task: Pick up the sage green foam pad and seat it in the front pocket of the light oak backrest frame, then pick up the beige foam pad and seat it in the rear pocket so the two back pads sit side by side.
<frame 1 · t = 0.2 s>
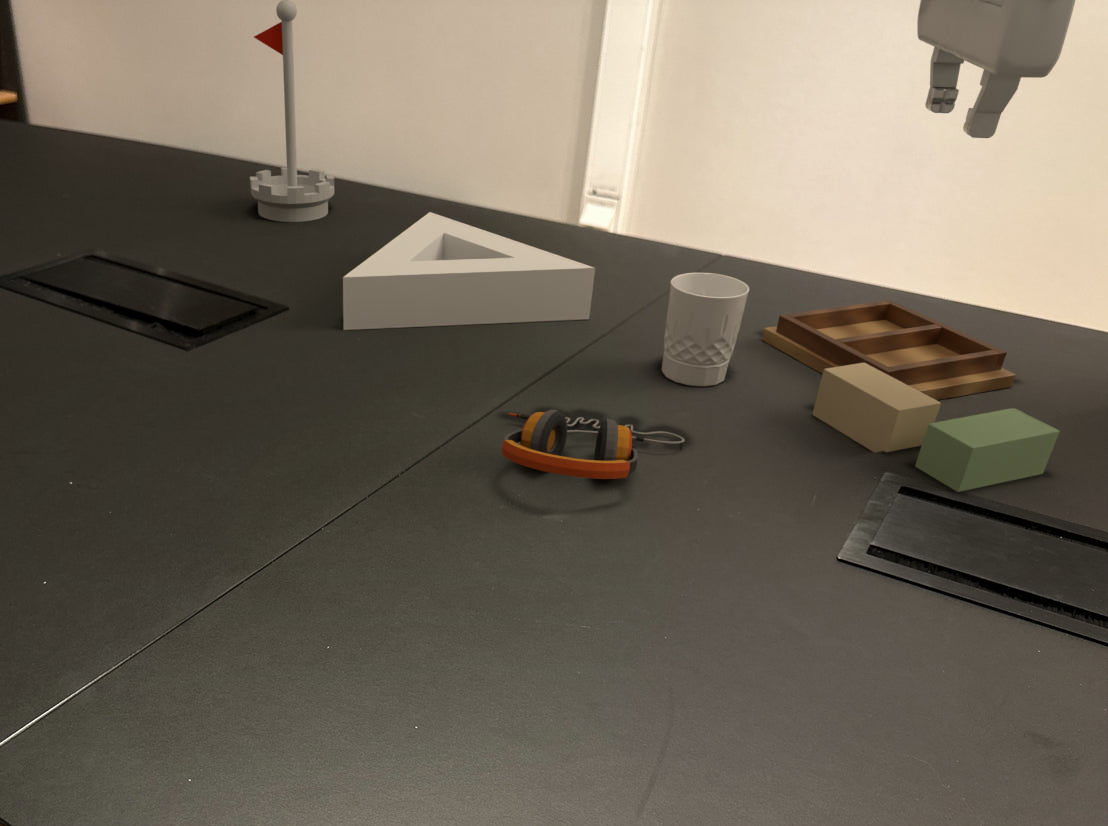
hand: (956, 123, 80), 30 cm above the table, tool pointing down, fingers open, 8 cm apart
back frame: (880, 362, 117), on the table
sage pad: (976, 476, 95), on the table
headphones: (578, 466, 96), on the table
beige pad: (867, 432, 102), on the table
triangle block: (486, 306, 131), on the table
flag stand: (293, 213, 166), on the table
white cup: (692, 376, 114), on the table
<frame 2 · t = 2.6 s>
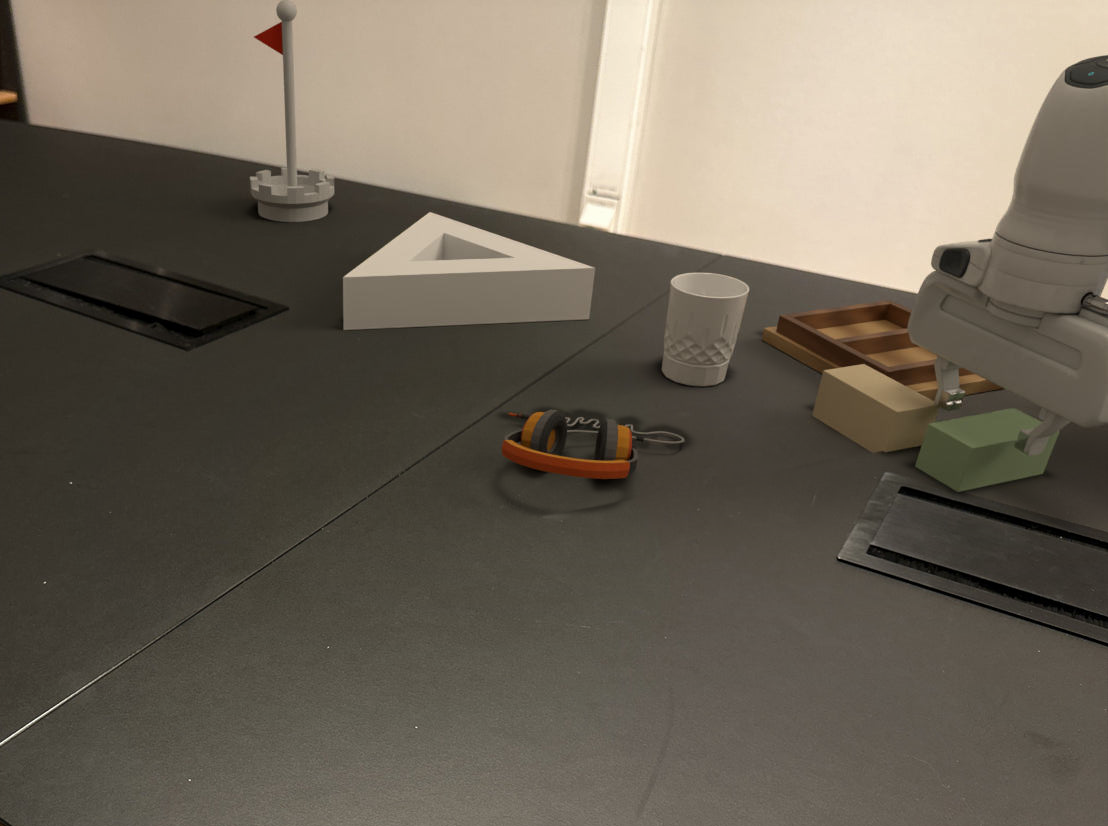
hand: (985, 428, 93), 5 cm above the table, tool pointing down, fingers open, 8 cm apart
beige pad: (866, 433, 102), on the table, touching gripper
everything else where it was.
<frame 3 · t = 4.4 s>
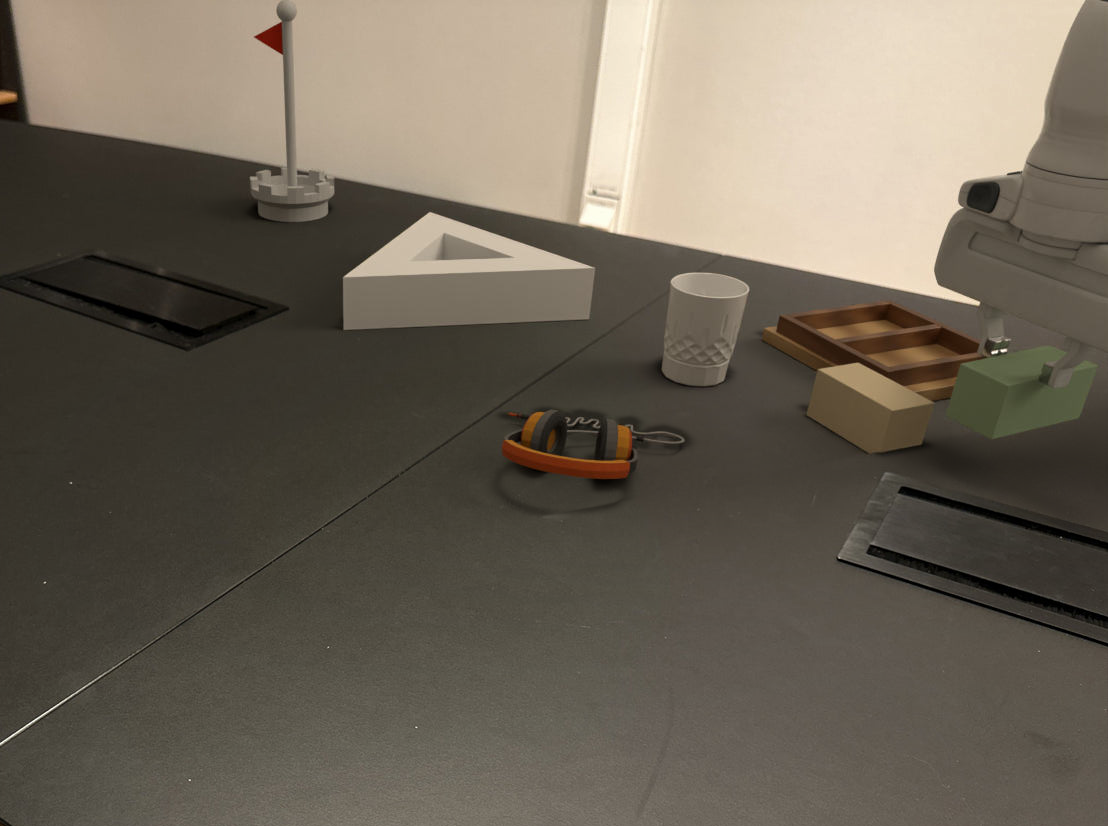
hand: (1019, 370, 89), 10 cm above the table, tool pointing down, fingers closed on sage pad, 5 cm apart
sage pad: (1011, 417, 92), point 6 cm above the table, touching gripper
beige pad: (861, 432, 102), on the table
everything else where it was.
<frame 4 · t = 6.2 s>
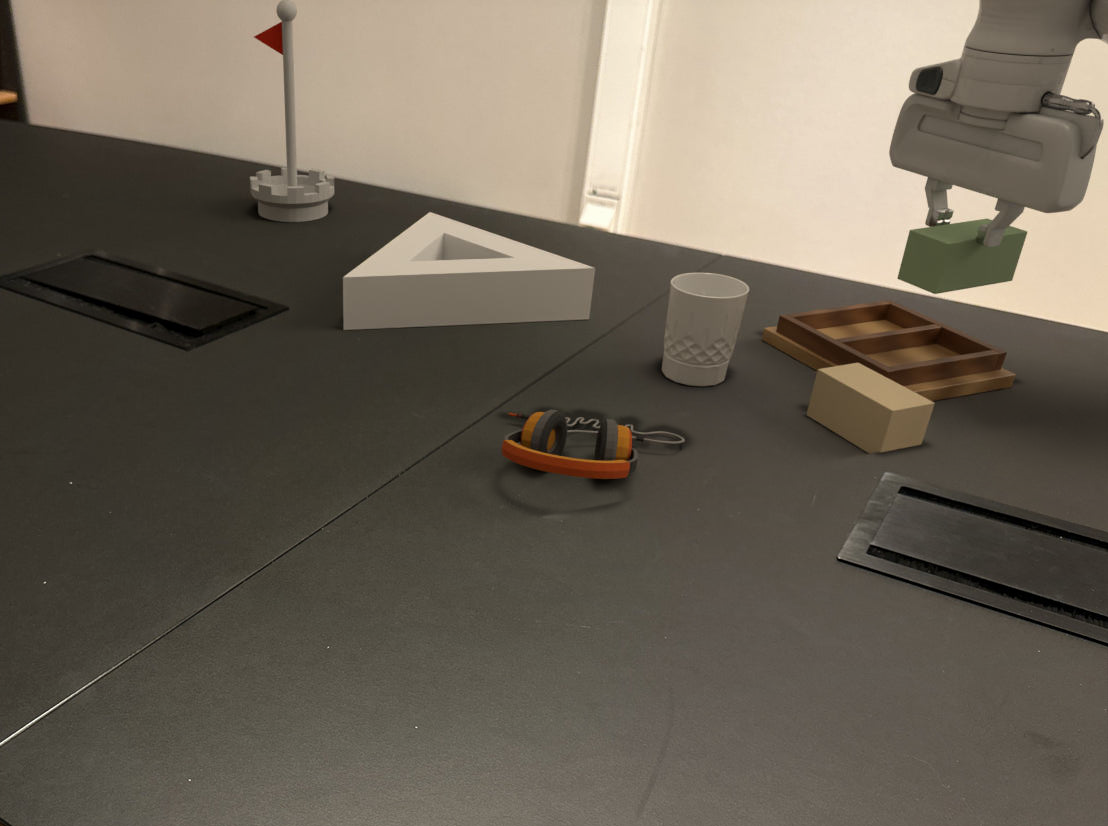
hand: (960, 235, 103), 16 cm above the table, tool pointing down, fingers closed on sage pad, 5 cm apart
sage pad: (954, 280, 106), point 12 cm above the table, touching gripper
everything else where it was.
when the fingers open (6 cm above the table, at t = 9.3 s): sage pad stays where it is, resting on back frame.
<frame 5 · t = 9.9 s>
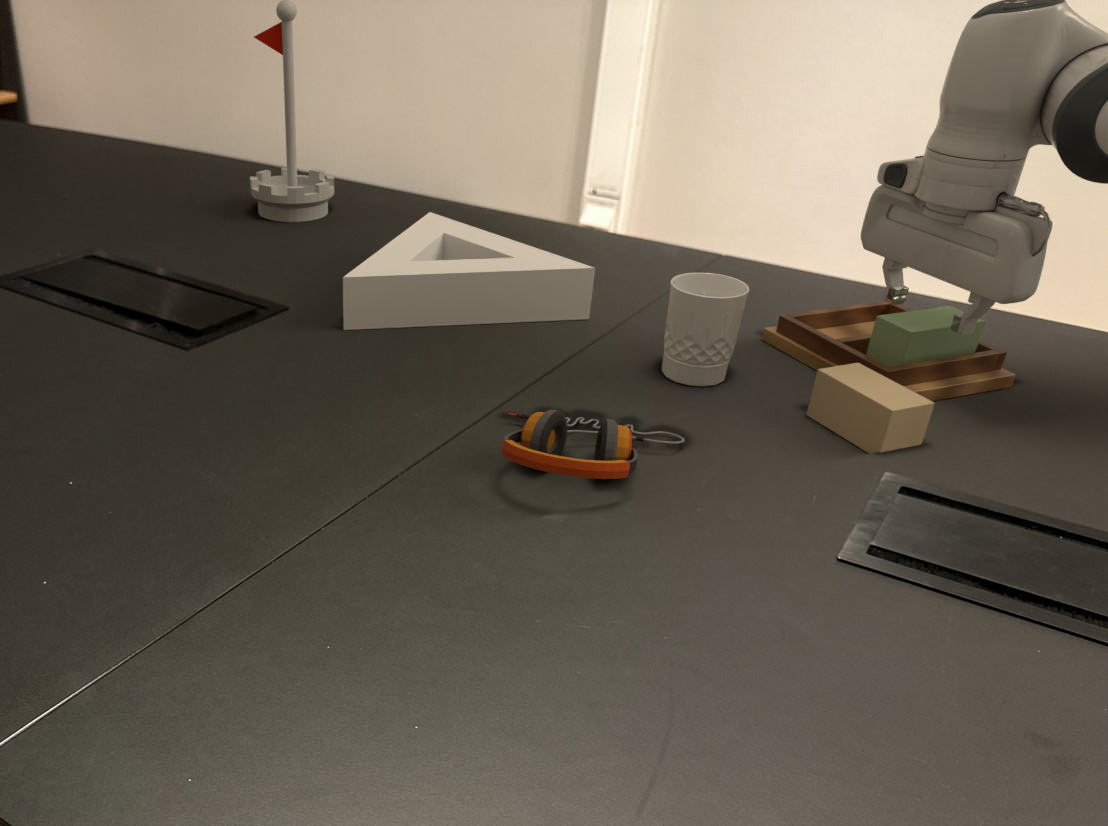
hand: (926, 317, 110), 7 cm above the table, tool pointing down, fingers open, 8 cm apart
sage pad: (917, 362, 113), point 1 cm above the table, touching back frame
everything else where it was.
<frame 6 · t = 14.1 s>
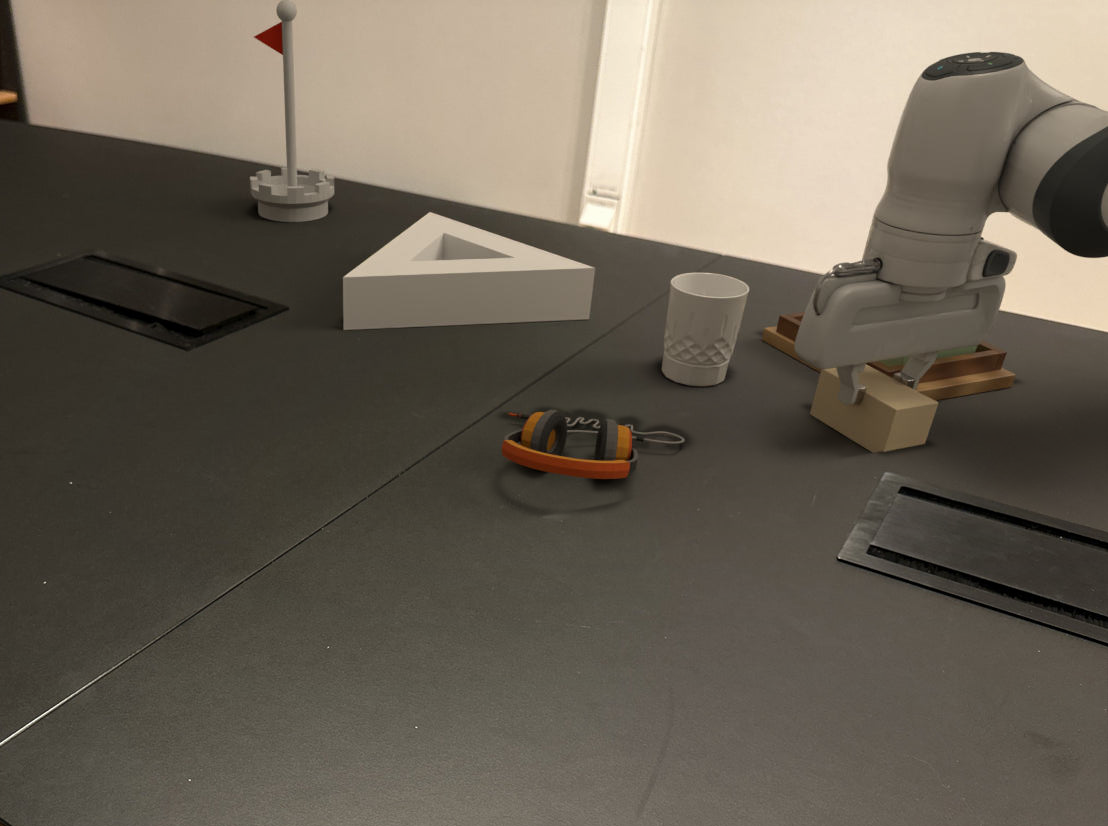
hand: (876, 397, 100), 4 cm above the table, tool pointing down, fingers closed on beige pad, 5 cm apart
beige pad: (864, 431, 102), on the table, touching gripper
everything else where it was.
when the fingers open (5 cm above the table, at t = 20.6 s): beige pad stays where it is, resting on back frame.
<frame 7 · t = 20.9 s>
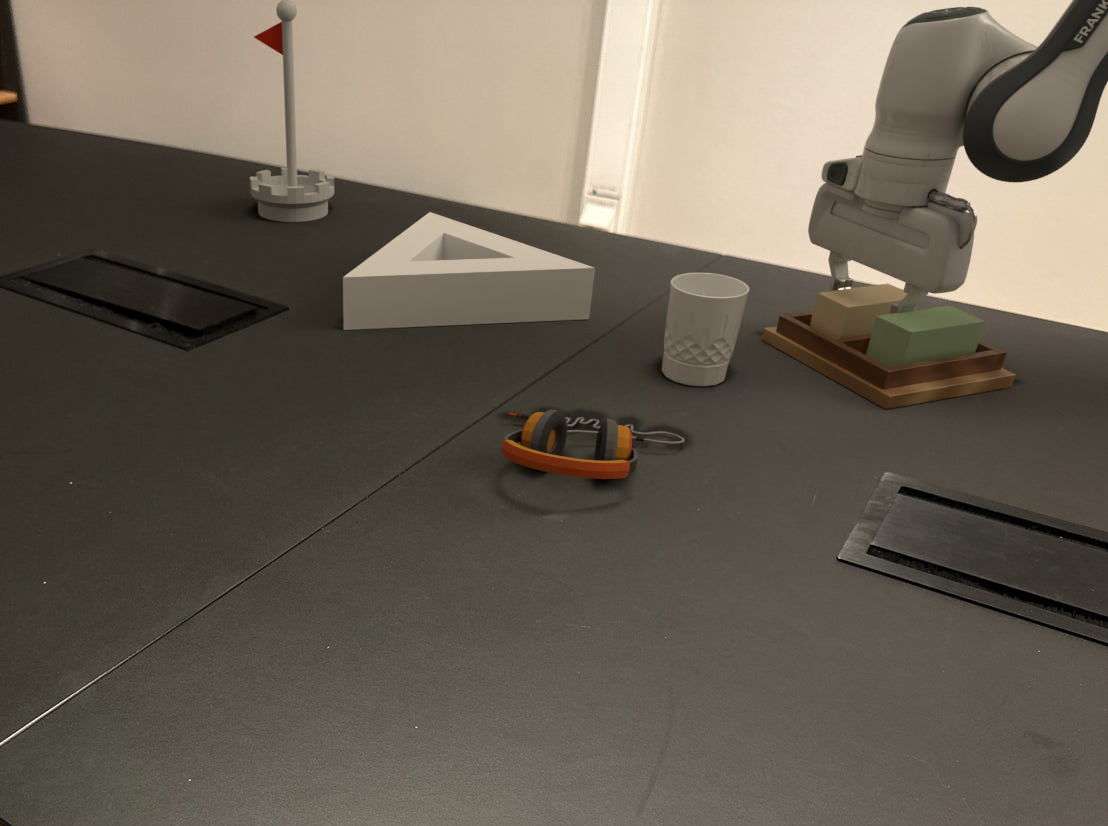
hand: (867, 306, 117), 5 cm above the table, tool pointing down, fingers open, 8 cm apart
sage pad: (917, 362, 113), point 2 cm above the table, touching back frame, gripper
beige pad: (857, 337, 119), point 1 cm above the table, touching back frame
everything else where it was.
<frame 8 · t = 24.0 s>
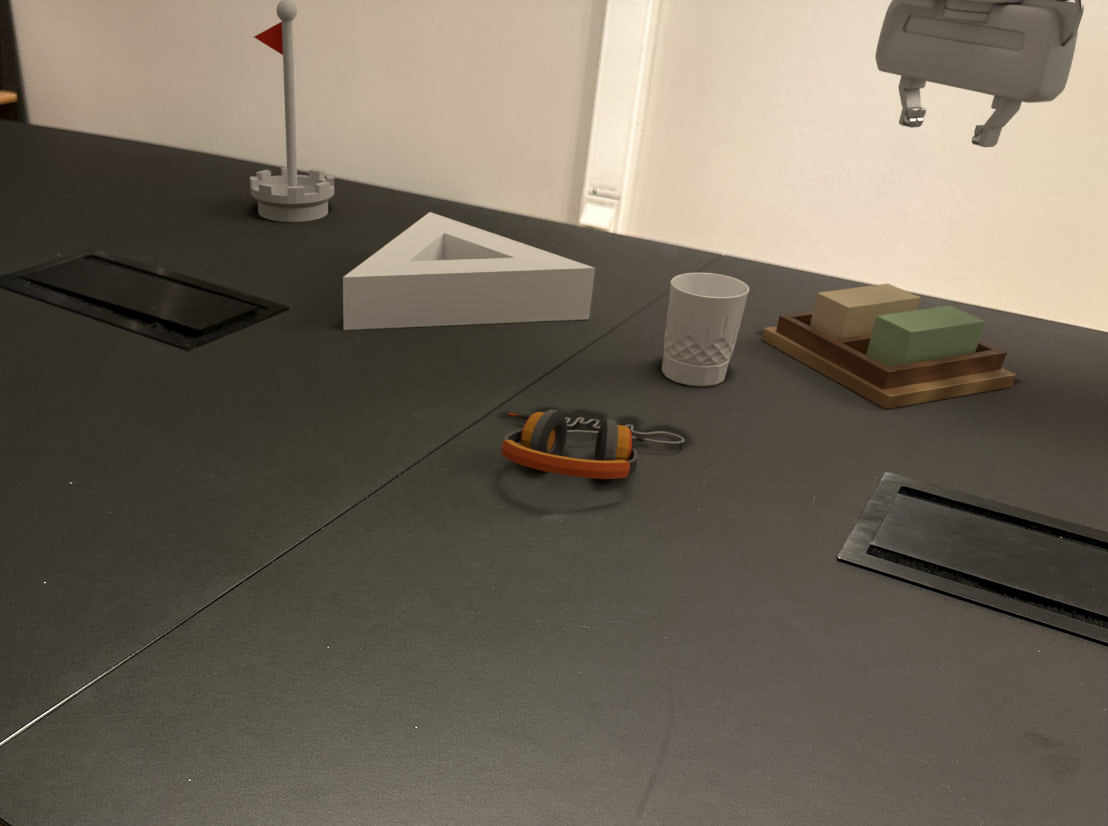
hand: (945, 135, 104), 24 cm above the table, tool pointing down, fingers open, 8 cm apart
sage pad: (917, 362, 113), point 1 cm above the table, touching back frame
everything else where it was.
at the end: sage pad 0.9 cm from the target spot on the back frame, point 1.5 cm above the back frame's base; beige pad 0.2 cm from the target spot on the back frame, point 1.5 cm above the back frame's base; sage pad tilted 0° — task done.
